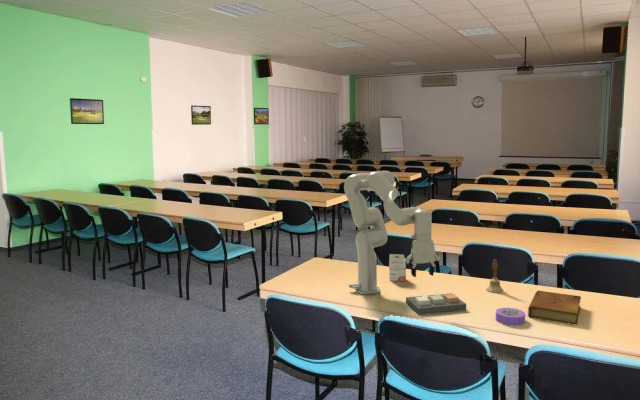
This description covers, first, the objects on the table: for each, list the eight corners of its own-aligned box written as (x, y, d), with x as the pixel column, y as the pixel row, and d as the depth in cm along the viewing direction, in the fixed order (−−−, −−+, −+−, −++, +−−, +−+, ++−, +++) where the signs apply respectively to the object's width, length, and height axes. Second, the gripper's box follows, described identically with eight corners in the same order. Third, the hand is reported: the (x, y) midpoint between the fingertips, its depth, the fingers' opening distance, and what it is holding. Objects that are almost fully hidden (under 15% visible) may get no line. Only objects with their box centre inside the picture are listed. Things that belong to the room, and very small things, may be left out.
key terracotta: (448, 303, 225) (448, 298, 225) (443, 300, 230) (443, 294, 230) (458, 302, 226) (458, 297, 226) (453, 299, 231) (453, 293, 231)
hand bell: (498, 294, 244) (499, 262, 241) (482, 290, 250) (483, 259, 248) (506, 290, 249) (507, 259, 247) (491, 286, 255) (492, 256, 253)
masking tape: (501, 313, 219) (501, 305, 219) (528, 319, 212) (528, 311, 211) (491, 321, 210) (491, 313, 210) (519, 328, 203) (520, 319, 202)
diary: (535, 302, 234) (536, 290, 233) (580, 308, 224) (580, 296, 223) (528, 318, 214) (528, 305, 213) (576, 325, 205) (577, 312, 204)
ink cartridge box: (406, 278, 272) (406, 252, 269) (404, 281, 267) (404, 255, 265) (390, 277, 274) (390, 251, 272) (389, 280, 269) (388, 254, 267)
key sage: (433, 305, 224) (433, 299, 224) (429, 301, 229) (429, 296, 228) (444, 304, 225) (444, 298, 224) (439, 300, 230) (439, 295, 229)
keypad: (417, 314, 219) (417, 306, 219) (405, 303, 234) (405, 295, 233) (466, 310, 223) (466, 302, 223) (451, 299, 238) (451, 291, 237)
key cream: (419, 306, 223) (419, 301, 222) (415, 302, 228) (415, 297, 227) (429, 305, 224) (429, 300, 223) (425, 301, 228) (425, 296, 228)
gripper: (407, 240, 216) (407, 279, 218) (444, 237, 219) (444, 276, 222) (401, 236, 223) (401, 274, 226) (437, 234, 226) (437, 271, 229)
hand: (422, 275), depth 224 cm, fingers open, 7 cm apart
